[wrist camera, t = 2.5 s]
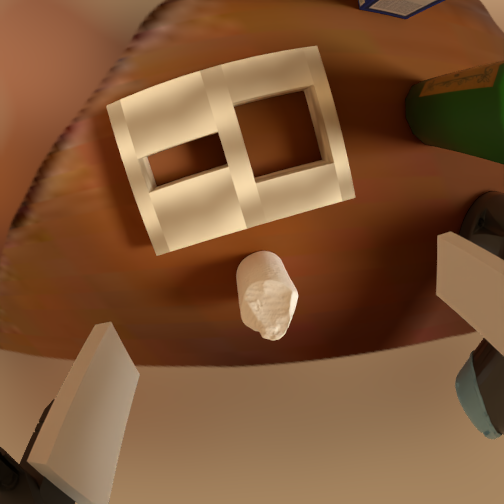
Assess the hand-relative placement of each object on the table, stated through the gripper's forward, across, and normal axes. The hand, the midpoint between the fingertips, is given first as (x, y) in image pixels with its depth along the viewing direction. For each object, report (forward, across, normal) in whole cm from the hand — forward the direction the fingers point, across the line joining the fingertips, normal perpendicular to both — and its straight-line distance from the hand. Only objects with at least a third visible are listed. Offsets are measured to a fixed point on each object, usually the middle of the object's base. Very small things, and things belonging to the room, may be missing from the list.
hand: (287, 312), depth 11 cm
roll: (+24, 0, +10) cm, 26 cm away
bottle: (+24, -25, -6) cm, 35 cm away
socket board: (+24, 0, -6) cm, 25 cm away
